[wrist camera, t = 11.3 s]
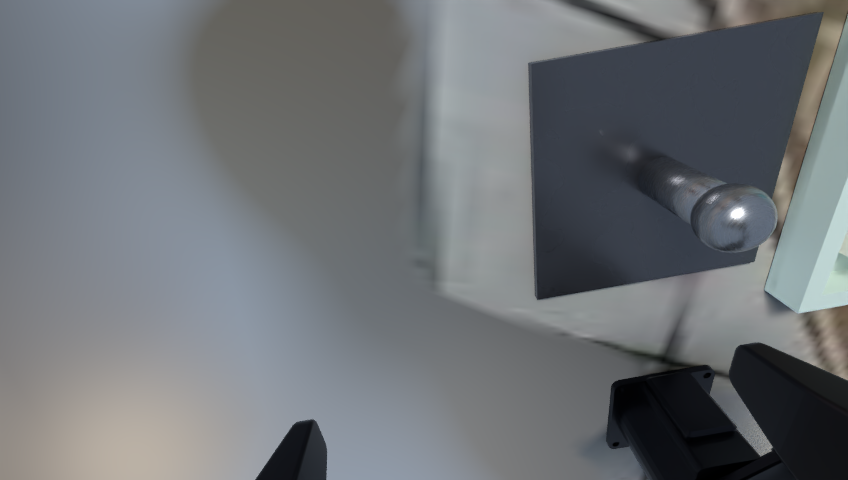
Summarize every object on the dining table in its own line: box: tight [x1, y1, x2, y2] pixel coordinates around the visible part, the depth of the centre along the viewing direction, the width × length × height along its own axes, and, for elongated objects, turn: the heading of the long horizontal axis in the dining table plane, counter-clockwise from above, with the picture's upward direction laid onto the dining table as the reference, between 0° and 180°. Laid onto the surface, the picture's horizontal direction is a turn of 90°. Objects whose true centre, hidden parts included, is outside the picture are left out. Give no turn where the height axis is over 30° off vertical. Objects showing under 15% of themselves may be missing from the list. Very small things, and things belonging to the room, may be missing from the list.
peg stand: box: [528, 12, 824, 300], centre depth 17 cm, size 12×12×6 cm
